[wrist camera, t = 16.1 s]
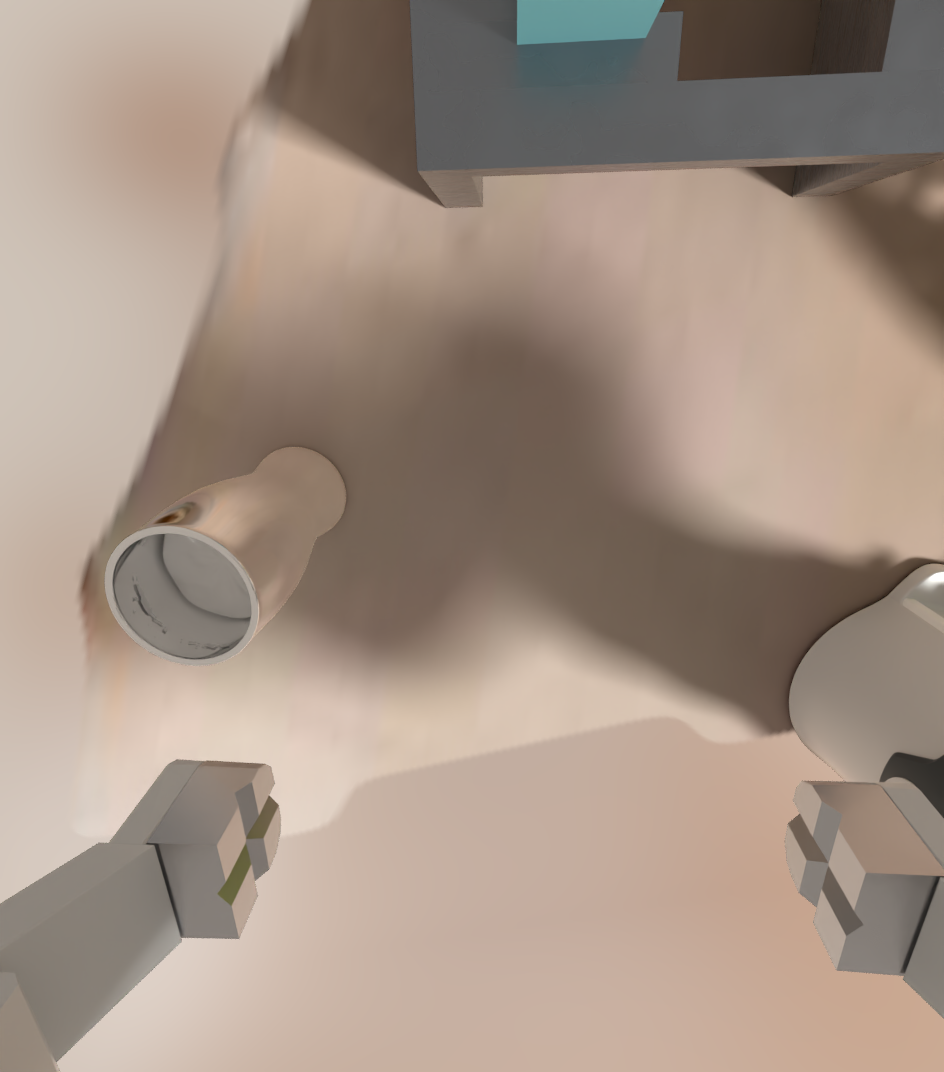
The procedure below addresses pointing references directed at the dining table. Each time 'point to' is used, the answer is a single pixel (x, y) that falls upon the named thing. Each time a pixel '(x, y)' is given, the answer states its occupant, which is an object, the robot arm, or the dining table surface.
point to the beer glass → (223, 558)
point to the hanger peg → (584, 20)
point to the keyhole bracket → (672, 101)
